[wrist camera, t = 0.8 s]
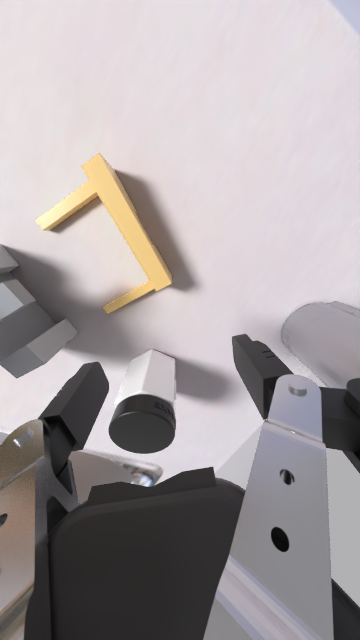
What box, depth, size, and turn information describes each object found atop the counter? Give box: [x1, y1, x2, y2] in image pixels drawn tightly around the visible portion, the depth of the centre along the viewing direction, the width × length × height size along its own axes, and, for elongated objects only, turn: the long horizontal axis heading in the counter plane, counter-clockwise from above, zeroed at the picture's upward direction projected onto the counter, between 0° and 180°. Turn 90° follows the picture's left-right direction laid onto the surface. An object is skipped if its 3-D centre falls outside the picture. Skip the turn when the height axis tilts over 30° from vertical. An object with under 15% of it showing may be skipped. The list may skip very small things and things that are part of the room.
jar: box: [109, 349, 176, 454], centre depth 27 cm, size 9×8×12 cm
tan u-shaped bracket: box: [36, 153, 173, 314], centre depth 22 cm, size 11×14×4 cm
